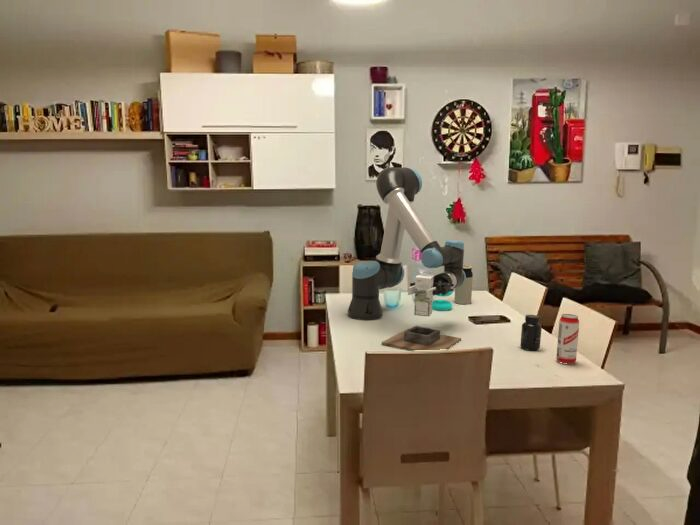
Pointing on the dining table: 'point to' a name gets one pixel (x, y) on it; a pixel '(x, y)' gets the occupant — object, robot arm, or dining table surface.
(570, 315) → the beer can
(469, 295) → the travel mug
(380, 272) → the robot arm
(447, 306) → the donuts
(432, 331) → the collar board
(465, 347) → the dining table surface
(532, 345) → the supplement bottle
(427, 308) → the syrup box
